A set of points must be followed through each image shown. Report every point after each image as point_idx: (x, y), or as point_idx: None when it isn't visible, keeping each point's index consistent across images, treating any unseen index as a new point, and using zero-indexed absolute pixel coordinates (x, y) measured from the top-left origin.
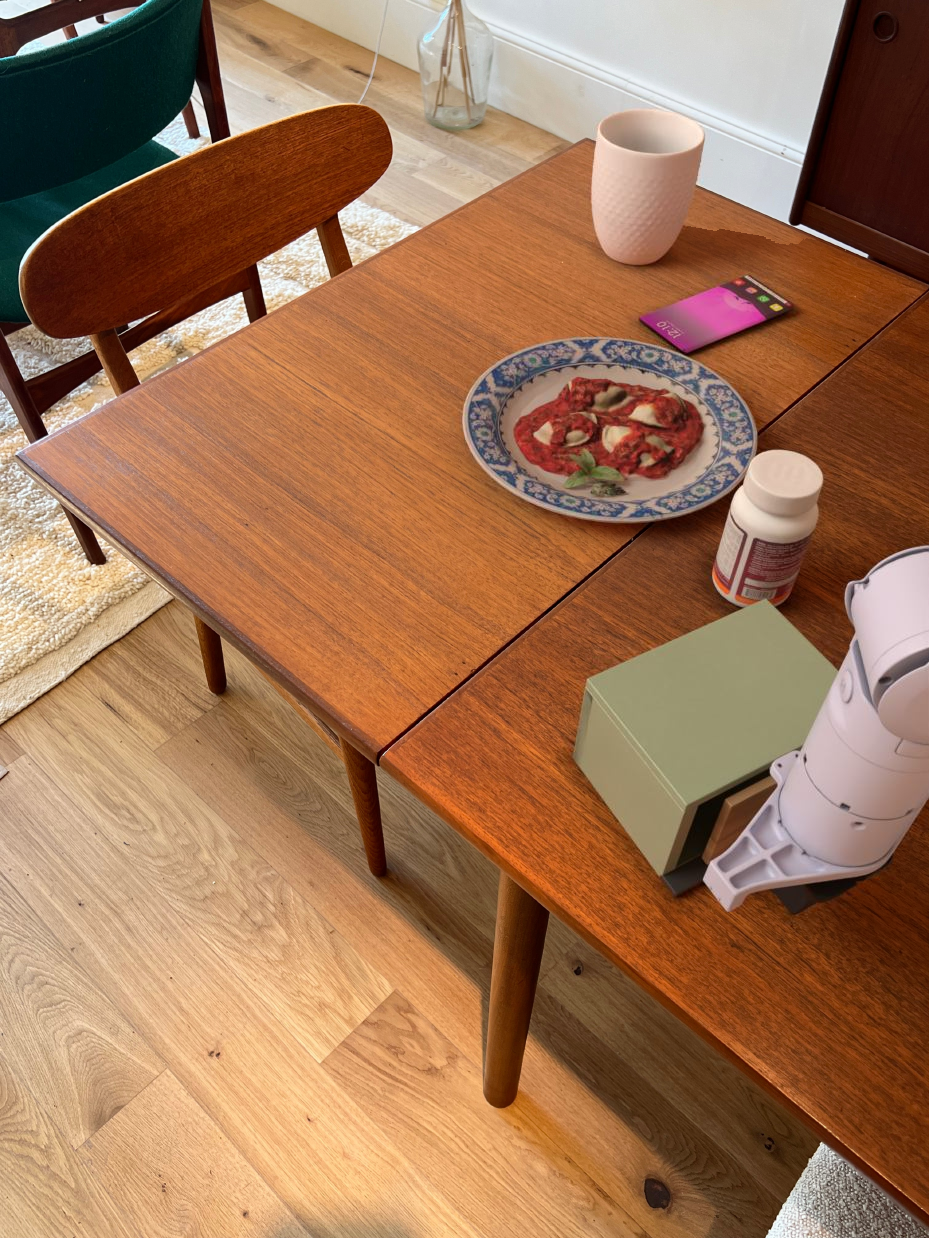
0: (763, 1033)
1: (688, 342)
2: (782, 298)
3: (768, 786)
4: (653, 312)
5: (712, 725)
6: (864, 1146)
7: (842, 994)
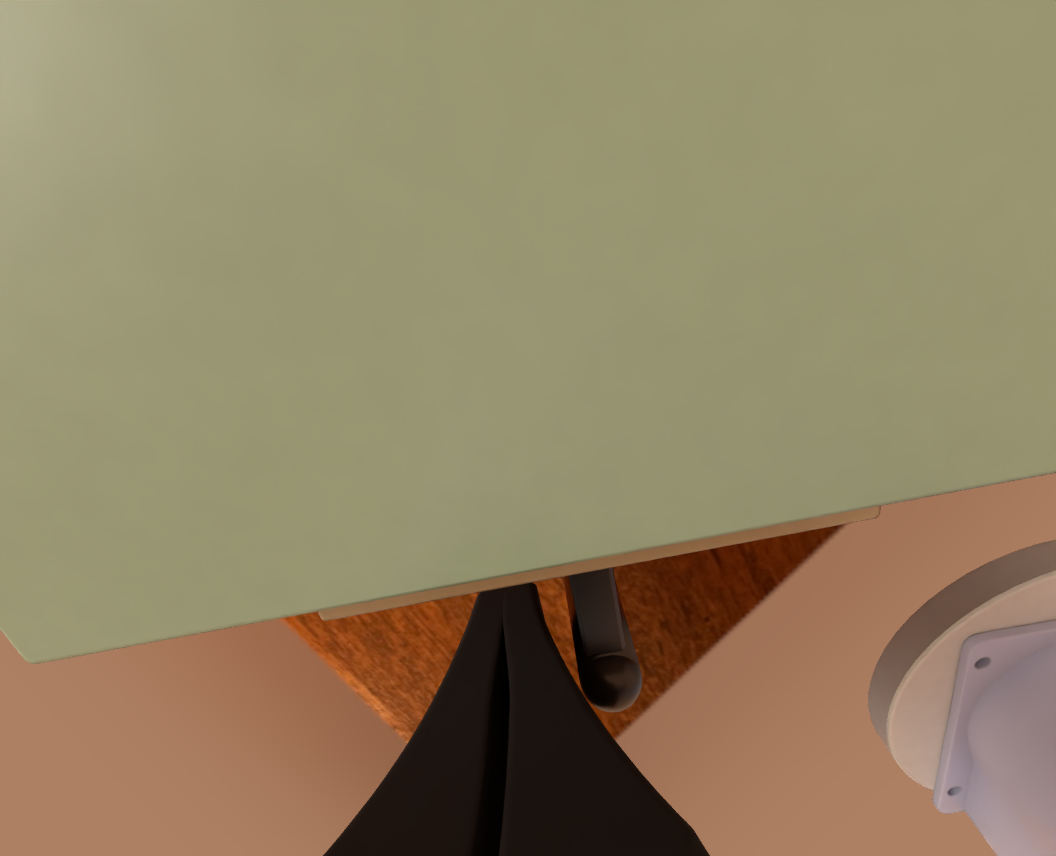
0: (398, 670)
1: None
2: None
3: (532, 578)
4: None
5: (331, 225)
6: None
7: (563, 651)
